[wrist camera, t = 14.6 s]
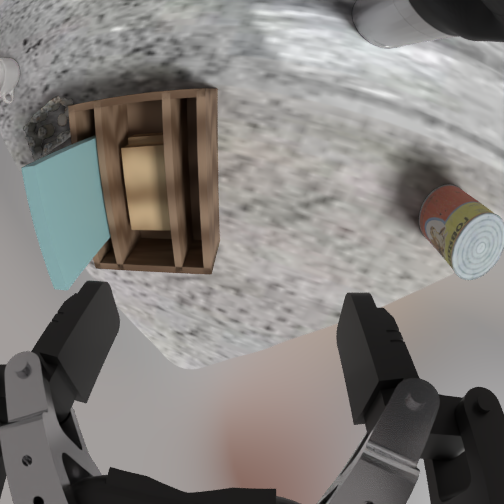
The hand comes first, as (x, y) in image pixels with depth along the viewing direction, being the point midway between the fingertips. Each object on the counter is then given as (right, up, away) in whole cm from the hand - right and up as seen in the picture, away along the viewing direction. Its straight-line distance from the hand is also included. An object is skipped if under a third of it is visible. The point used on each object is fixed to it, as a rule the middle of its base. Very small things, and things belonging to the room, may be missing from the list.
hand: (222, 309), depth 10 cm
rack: (-13, +14, +34) cm, 39 cm away
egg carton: (-31, +23, +30) cm, 49 cm away
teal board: (-19, +14, +33) cm, 40 cm away
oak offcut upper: (-13, +11, +31) cm, 36 cm away
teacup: (-42, +33, +25) cm, 58 cm away
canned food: (+35, +9, +36) cm, 51 cm away
